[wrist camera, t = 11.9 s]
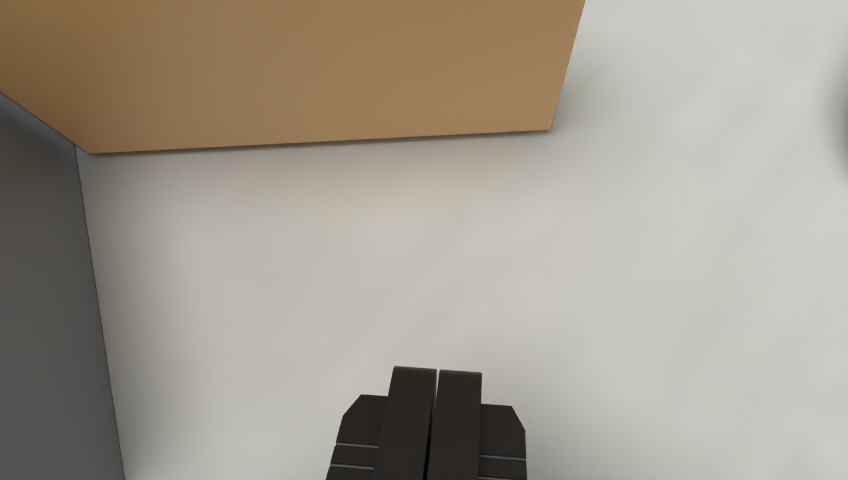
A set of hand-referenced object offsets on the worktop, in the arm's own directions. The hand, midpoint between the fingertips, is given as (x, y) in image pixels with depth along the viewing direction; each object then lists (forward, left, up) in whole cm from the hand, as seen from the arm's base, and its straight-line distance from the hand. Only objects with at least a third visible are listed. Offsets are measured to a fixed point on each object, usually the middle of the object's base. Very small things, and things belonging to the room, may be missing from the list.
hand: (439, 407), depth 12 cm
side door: (-2, +10, -8) cm, 13 cm away
